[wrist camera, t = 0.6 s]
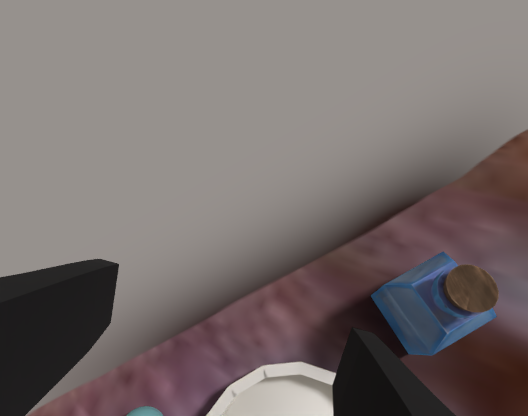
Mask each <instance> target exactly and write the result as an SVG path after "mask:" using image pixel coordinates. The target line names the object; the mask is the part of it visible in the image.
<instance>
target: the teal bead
mask: <svg viewBox="0 0 528 416" xmlns="http://www.w3.org/2000/svg"><path fill="white" fill-rule="evenodd" d="M126 416H163V414H162V413H161V412H160V411H159V410H157V409H156V408H154V407H150V406H143V407H139V408H136V409H134V410H132V411H131V412H130V413H128V414H127V415H126Z"/></svg>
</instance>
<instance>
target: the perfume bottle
mask: <svg viewBox="0 0 528 416" xmlns="http://www.w3.org/2000/svg"><path fill="white" fill-rule="evenodd" d="M371 297H372V299H373V301H374V302H375V304H376V305H377V307H378V308H379V310H380V311H381V313H382V314H383V316H384V317H385V319H386V320H387V322H388V323H389V325H390V326H391V328H392V330H393V331H394V333H395V334H396V336H397V337H398V339H399V340H400V342H401V343H402V345H403V346H404V348H405V349H406V351H407V352H408V354H417V355H434V354H435V353H437V352H439V351H440V350H442V349H444V348H445V347H447V346H449V345H450V344H452V343H454V342H455V341H457V340H459V339H460V338H462V337H464V336H466V335H467V334H469V333H471V332H472V331H474V330H476V329H477V328H479V327H481V326H482V325H484V324H486V323H487V322H489V321H491V320H492V319H494V318H496V317H497V316H496V314H495V312H494V310H493V307H494V306H495V305H496V302H497V300H498V288H497V285H496V283H495V281H494V280H493V278H492V277H491V276H490V275H489V274H488V273H487V272H486V271H485V270H483V269H481V268H479V267H477V266H473V265H460V266H458V265H457V264H456V263H455V262H454V260H452V259H451V258H450V257H449V256H448V255H447V254H446V253H444V252H441V253H440V254H438V255H436V256H434V257H433V258H431V259H429V260H427V261H425V262H424V263H422V264H420V265H418V266H417V267H415V268H413V269H411V270H409V271H408V272H406V273H404V274H402V275H401V276H399V277H397V278H395V279H393V280H392V281H390V282H388V283H386V284H385V285H383V286H382V287H381V288H380V289H378V290H377V291H376V292H375V293H373V294H372V295H371Z"/></svg>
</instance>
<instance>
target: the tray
mask: <svg viewBox="0 0 528 416" xmlns="http://www.w3.org/2000/svg"><path fill="white" fill-rule="evenodd" d="M335 376H336V373H335V372H332V371H329V370H326V369H323V368H321V367H318V366H314V365H311V364H308V363H305V362H301V361H298V362H288V363H278V364H268V365H263V366H261V367H260V368H258V369H256V370H255V371H253V372H251V373H250V374H248V375H246V376H245V377H243V378H241V379H240V380H238V381H236V382H234V383H233V384H231V385H229V386H228V387H227V389H226V390H225V391H224V393H223V394H222V395H221V397H220V398H219V399H218V401H217V402H216V403H215V405H214V406H213V407H212V409H211V410H210V411H209V413H208V414H207V415H206V416H333V393H332V384H333V382H334V379H335Z"/></svg>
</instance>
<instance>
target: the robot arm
mask: <svg viewBox="0 0 528 416" xmlns="http://www.w3.org/2000/svg"><path fill="white" fill-rule="evenodd" d="M118 267H119V264H117V263H113V262H109V261H106V260H102V259H94V260H87V261H81V262H76V263H70V264H65V265H61V266H56V267H51V268H46V269H41V270H37V271H32V272H27V273H23V274H17V275H11V276H6V277H1V278H0V416H25V415H26V414H27V413H28V412H29V411H30V410H31V409H32V408H33V407H34V406H35V405H36V404H37V403H38V402H39V401H40V400H41V399H42V398H43V397H44V396H45V395H46V394H47V393H48V392H49V391H50V390H51V389H52V388H53V387H54V386H55V385H56V384H57V383H58V382H59V381H60V380H61V379H62V378H63V377H64V376H65V375H66V374H67V373H68V372H69V371H70V370H71V369H72V368H73V367H74V366H75V365H76V364H77V363H78V362H79V361H80V360H81V359H82V358H83V357H84V356H85V355H86V354H87V352H88V351H89V350H90V349H91V348H92V346H93V345H94V344H95V343H96V341H97V340H98V339H99V338H100V336H101V335H102V334H103V332H104V331H105V330H106V328H107V327H108V326H109V324H110V323H111V316H112V309H113V302H114V295H115V289H116V281H117V275H118ZM332 393H333V416H456V415H455V414H454V413H452V412H451V411H450V410H449V409H448V408H447V407H446V406H445V405H444V404H443V403H442V402H441V401H440V400H439V399H438V398H437V397H436V396H435V395H434V394H433V393H432V392H431V391H430V390H429V389H428V388H427V387H426V386H425V385H424V384H423V383H422V382H421V381H420V380H419V379H418V378H417V377H416V376H415V375H414V374H413V373H412V372H411V371H410V370H409V369H408V368H407V367H406V366H405V365H404V363H403V362H402V361H401V360H400V359H399V358H398V357H397V356H396V355H395V354H394V353H393V352H392V351H391V350H390V349H389V348H388V347H387V346H386V345H385V344H384V343H383V342H382V341H381V340H380V339H379V338H378V337H377V336H376V335H375V334H373V333H371V332H368V331H364V330H360V329H357V328H353V327H352V329H351V332H350V335H349V338H348V341H347V343H346V346H345V349H344V352H343V355H342V358H341V361H340V364H339V367H338V370H337V373H336V376H335V379H334V382H333V384H332Z"/></svg>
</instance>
